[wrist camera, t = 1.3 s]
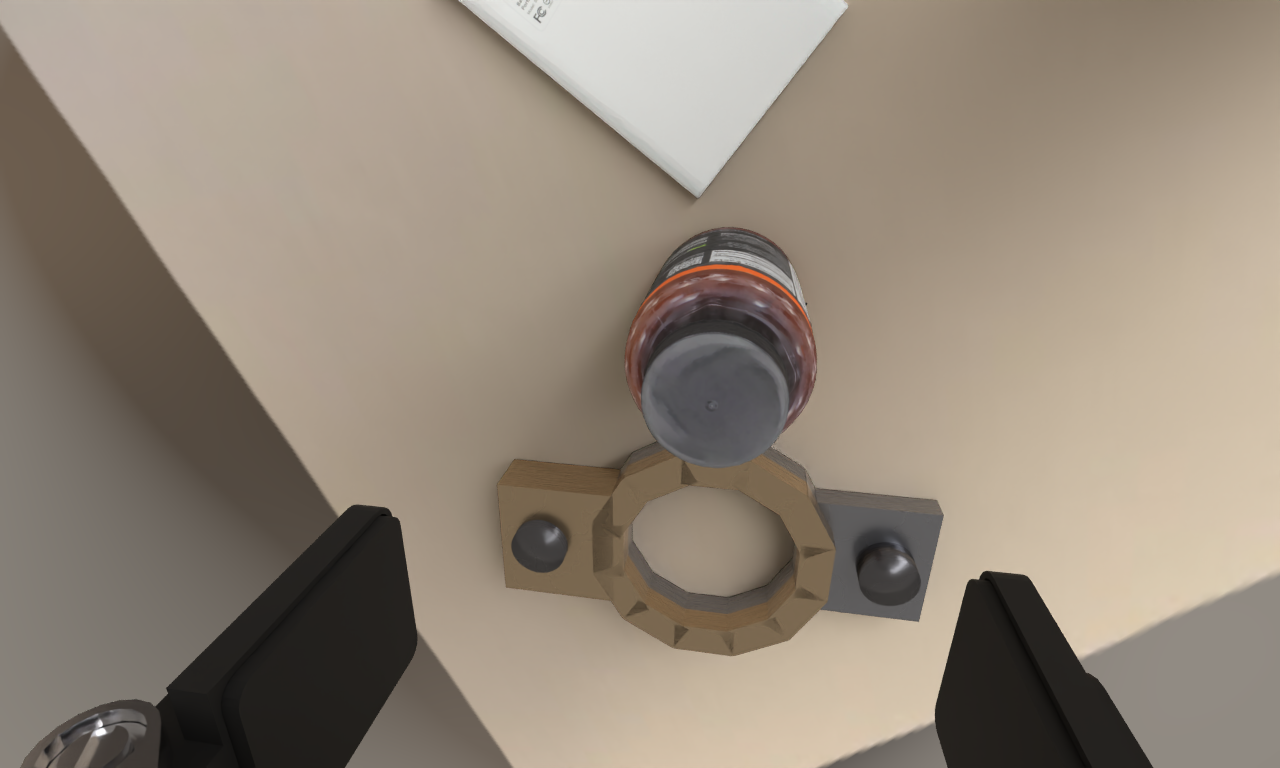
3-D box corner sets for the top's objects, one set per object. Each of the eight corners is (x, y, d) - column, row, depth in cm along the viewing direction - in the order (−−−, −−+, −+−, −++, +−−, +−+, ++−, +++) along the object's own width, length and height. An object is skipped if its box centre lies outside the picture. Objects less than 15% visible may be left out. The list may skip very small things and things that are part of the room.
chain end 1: (841, 442, 29) (850, 477, 27) (813, 631, 34) (818, 677, 31) (511, 414, 32) (488, 443, 29) (524, 594, 36) (505, 634, 33)
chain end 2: (947, 452, 29) (963, 480, 27) (904, 642, 33) (914, 681, 31) (602, 422, 31) (590, 446, 29) (604, 604, 35) (594, 637, 33)
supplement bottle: (741, 386, 29) (732, 539, 19) (631, 309, 29) (561, 424, 18) (831, 279, 27) (877, 389, 16) (713, 193, 26) (683, 251, 16)
